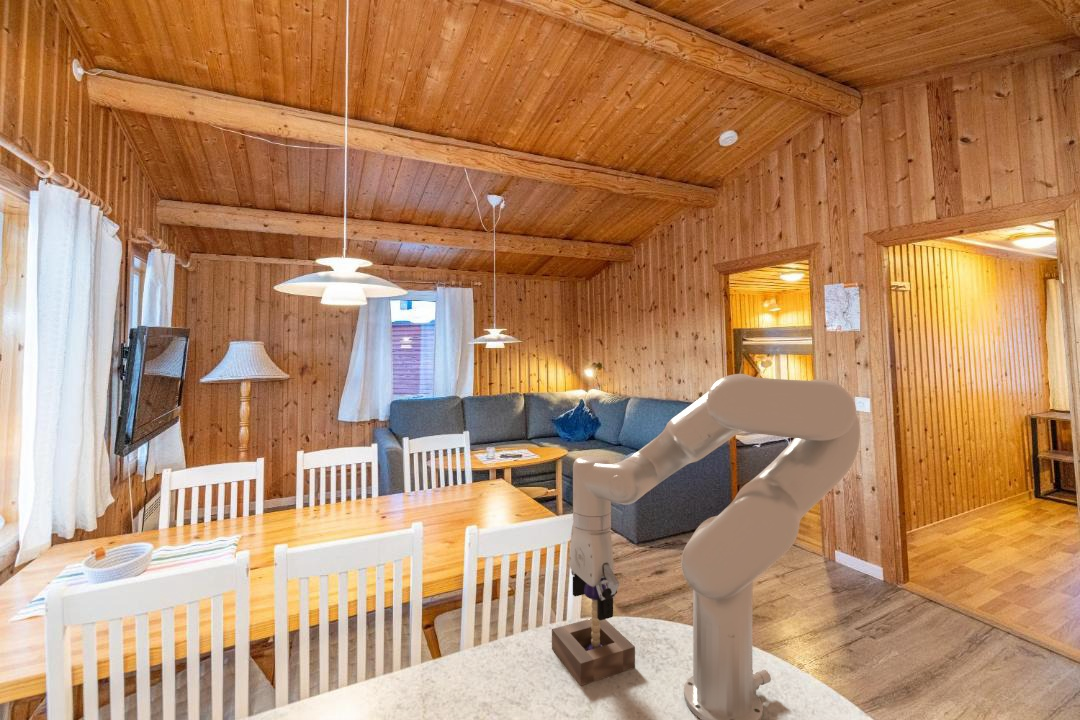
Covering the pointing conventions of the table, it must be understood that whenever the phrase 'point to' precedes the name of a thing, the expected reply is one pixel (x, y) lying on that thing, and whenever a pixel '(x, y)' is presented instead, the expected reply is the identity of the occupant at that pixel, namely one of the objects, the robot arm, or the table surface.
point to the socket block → (592, 651)
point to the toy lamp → (594, 615)
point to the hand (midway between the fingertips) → (592, 605)
